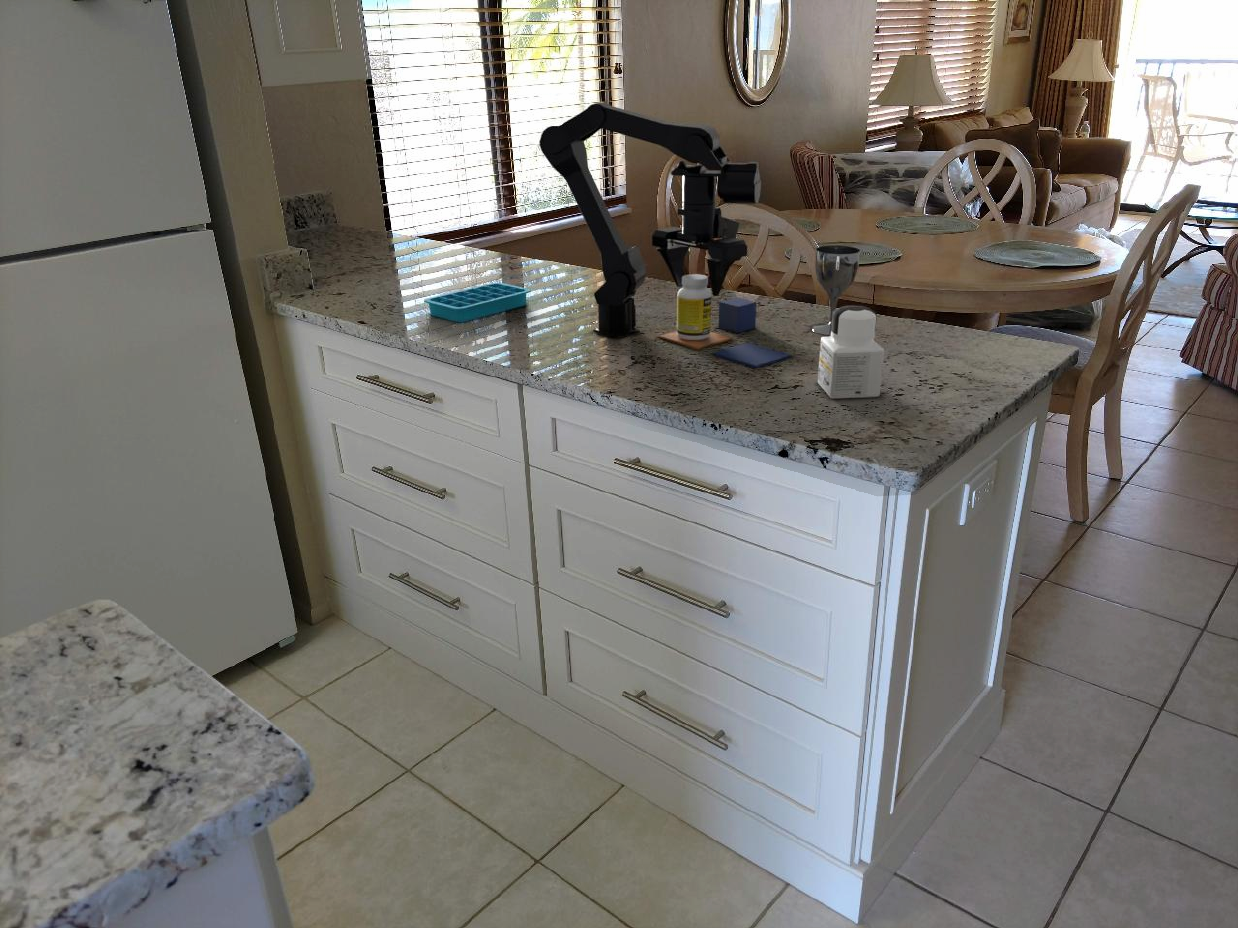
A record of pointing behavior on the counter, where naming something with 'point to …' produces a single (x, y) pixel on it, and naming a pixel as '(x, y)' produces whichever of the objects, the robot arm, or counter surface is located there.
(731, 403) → the counter surface
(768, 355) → the navy mat
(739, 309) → the navy block
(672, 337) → the amber mat
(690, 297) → the pill bottle
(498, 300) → the ice cube tray
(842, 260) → the wine glass
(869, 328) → the container
